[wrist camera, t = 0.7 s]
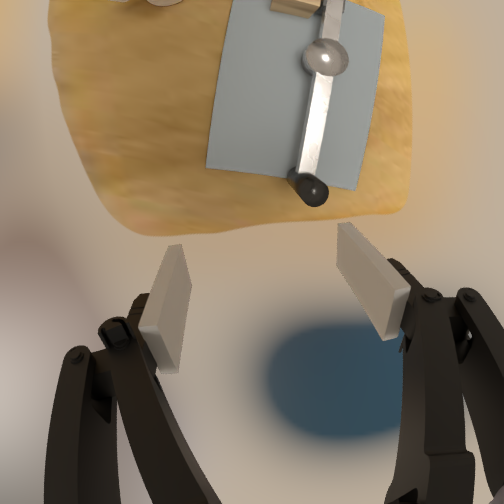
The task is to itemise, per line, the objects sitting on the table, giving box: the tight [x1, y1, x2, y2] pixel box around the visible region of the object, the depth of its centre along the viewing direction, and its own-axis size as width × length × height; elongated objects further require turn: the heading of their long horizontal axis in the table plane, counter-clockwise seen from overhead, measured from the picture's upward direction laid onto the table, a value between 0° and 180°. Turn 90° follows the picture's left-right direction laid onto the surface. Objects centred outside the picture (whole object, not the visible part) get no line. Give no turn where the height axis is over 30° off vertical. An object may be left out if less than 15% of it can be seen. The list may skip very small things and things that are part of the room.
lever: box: [287, 0, 349, 207], centre depth 23 cm, size 25×4×7 cm, turn 171°
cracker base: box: [206, 0, 385, 191], centre depth 26 cm, size 25×18×3 cm
